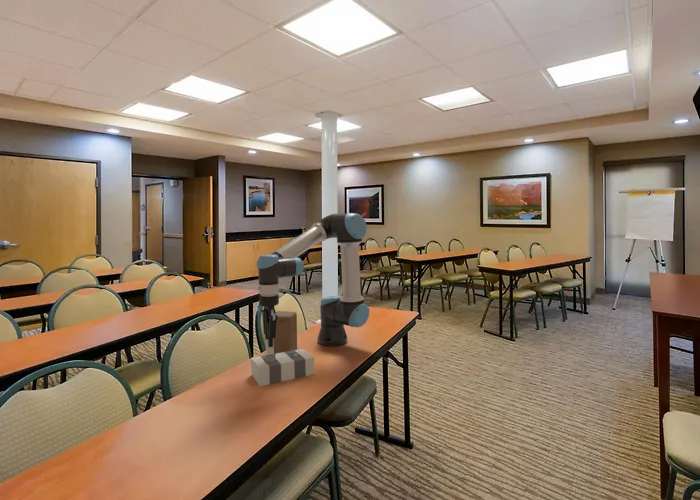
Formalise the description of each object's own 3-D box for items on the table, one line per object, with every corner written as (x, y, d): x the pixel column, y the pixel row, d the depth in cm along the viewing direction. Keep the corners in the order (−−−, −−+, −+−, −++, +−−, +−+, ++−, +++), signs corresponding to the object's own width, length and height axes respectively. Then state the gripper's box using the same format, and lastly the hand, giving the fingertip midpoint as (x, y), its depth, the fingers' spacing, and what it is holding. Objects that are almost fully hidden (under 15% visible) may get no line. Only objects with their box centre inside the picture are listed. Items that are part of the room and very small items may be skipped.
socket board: (302, 364, 164) (302, 348, 164) (314, 374, 154) (313, 357, 153) (251, 375, 154) (251, 357, 153) (259, 386, 143) (259, 368, 143)
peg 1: (273, 369, 154) (273, 352, 153) (277, 372, 150) (276, 355, 150) (264, 371, 152) (263, 354, 151) (267, 374, 148) (266, 357, 148)
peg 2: (297, 368, 159) (297, 352, 158) (301, 372, 155) (300, 355, 155) (288, 370, 157) (288, 353, 156) (291, 374, 153) (291, 356, 153)
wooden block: (290, 361, 168) (289, 316, 166) (268, 360, 170) (267, 315, 168) (298, 354, 177) (297, 311, 176) (277, 352, 179) (276, 310, 178)
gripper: (254, 292, 153) (255, 350, 154) (264, 298, 141) (265, 361, 143) (273, 291, 156) (274, 347, 158) (283, 296, 145) (284, 357, 146)
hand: (269, 354), depth 150 cm, fingers closed
